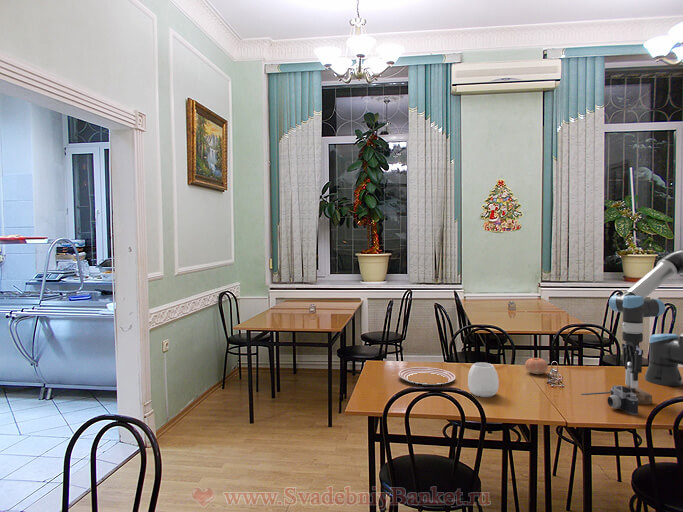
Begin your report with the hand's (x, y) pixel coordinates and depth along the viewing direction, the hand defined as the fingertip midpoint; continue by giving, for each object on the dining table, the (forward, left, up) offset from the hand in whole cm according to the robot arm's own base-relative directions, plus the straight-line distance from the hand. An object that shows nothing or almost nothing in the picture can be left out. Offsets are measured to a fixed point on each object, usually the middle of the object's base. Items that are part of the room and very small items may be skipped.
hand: (631, 386), depth 213 cm
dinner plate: (+85, -24, -6) cm, 88 cm away
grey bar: (0, 0, -6) cm, 6 cm away
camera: (+11, +12, -6) cm, 18 cm away
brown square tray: (0, 0, -6) cm, 6 cm away
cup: (+62, -3, -6) cm, 62 cm away
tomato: (+28, -39, -6) cm, 48 cm away
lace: (+12, -7, -6) cm, 15 cm away
